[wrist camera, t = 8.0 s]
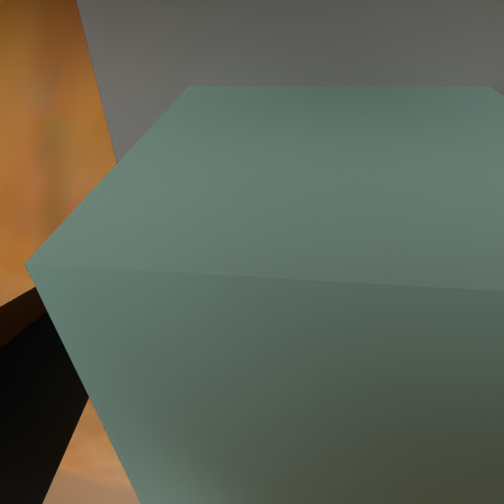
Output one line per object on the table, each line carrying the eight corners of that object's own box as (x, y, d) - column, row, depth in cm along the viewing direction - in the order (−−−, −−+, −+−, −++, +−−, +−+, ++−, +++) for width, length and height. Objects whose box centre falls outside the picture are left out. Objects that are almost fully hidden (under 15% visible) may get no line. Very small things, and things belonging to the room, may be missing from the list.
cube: (419, 306, 11) (498, 566, 6) (213, 294, 12) (149, 519, 7) (490, 86, 8) (784, 308, 3) (188, 86, 8) (24, 264, 4)
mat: (652, -44, 6) (665, -44, 6) (466, 350, 12) (470, 357, 12) (76, -27, 8) (69, -27, 7) (162, 327, 14) (159, 334, 13)
